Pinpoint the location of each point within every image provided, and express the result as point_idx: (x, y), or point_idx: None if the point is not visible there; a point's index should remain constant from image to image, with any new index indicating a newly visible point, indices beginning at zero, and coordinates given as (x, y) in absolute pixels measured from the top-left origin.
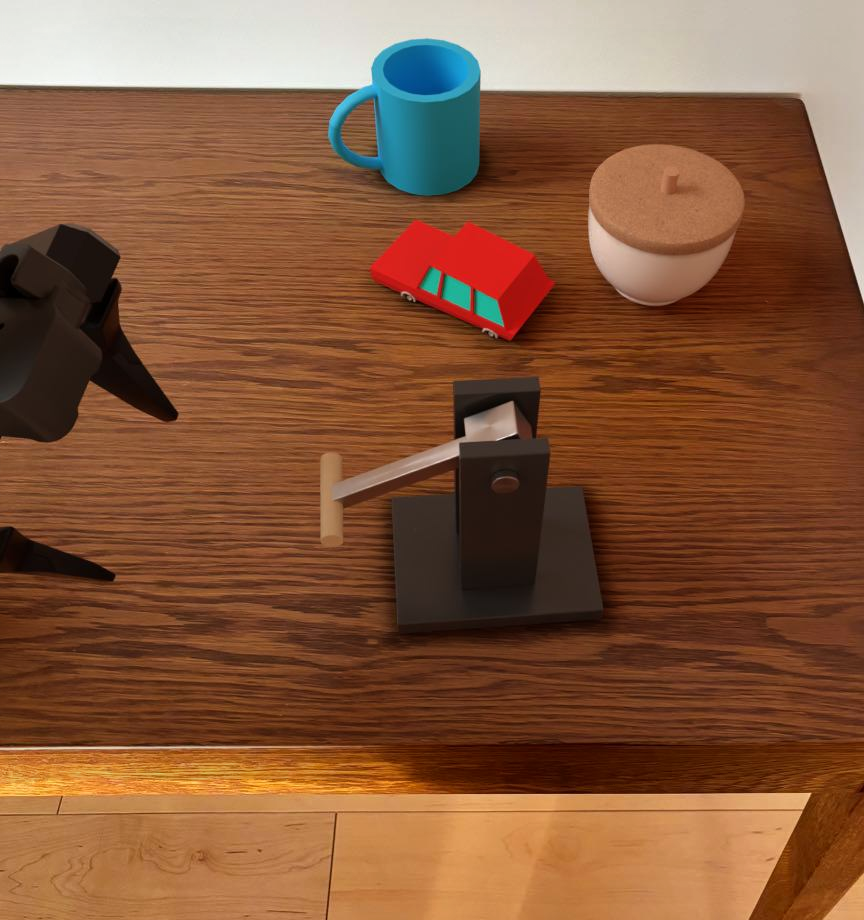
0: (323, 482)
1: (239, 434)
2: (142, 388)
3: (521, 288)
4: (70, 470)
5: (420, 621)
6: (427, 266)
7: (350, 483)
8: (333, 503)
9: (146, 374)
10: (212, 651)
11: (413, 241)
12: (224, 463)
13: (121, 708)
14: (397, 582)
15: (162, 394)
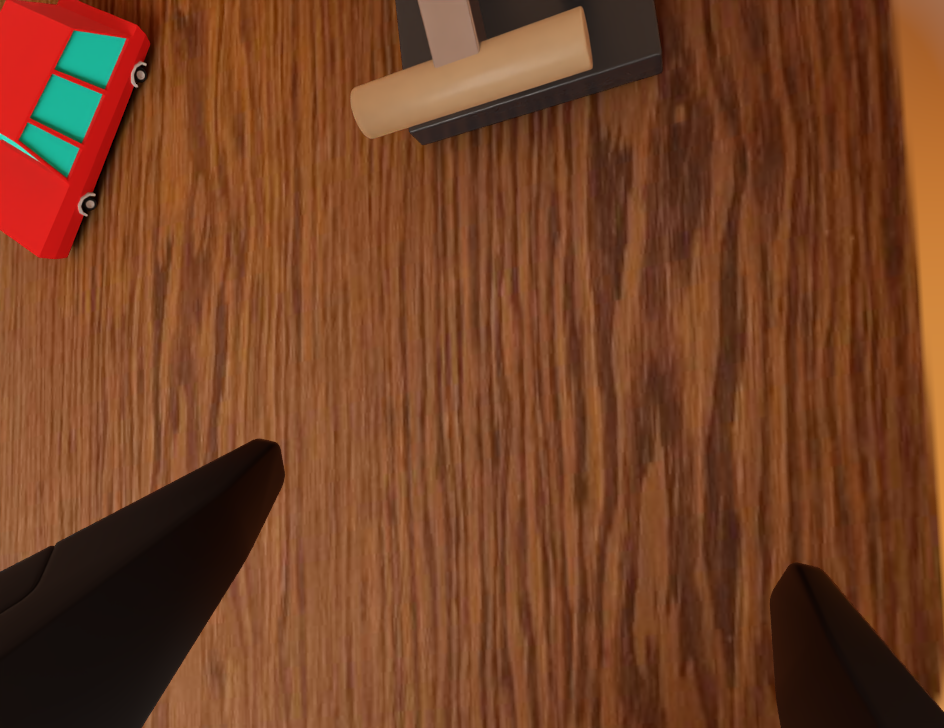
0: (429, 93)
1: (303, 412)
2: (156, 538)
3: (61, 15)
4: (372, 676)
5: (653, 14)
6: (37, 176)
7: (436, 4)
8: (487, 48)
9: (101, 530)
10: (717, 387)
11: (2, 205)
12: (353, 427)
13: (858, 537)
14: (573, 78)
15: (190, 478)
